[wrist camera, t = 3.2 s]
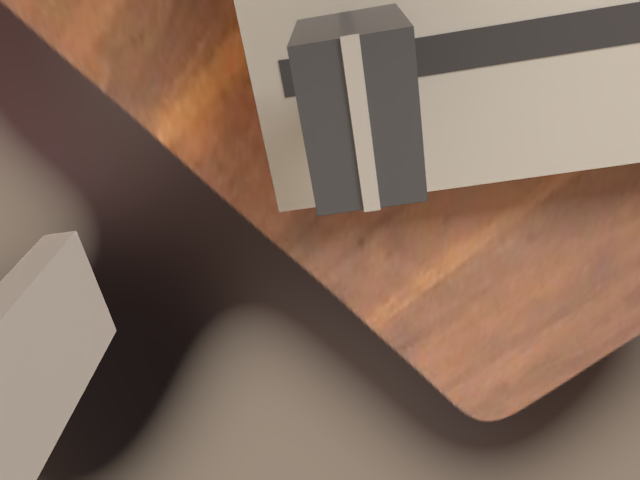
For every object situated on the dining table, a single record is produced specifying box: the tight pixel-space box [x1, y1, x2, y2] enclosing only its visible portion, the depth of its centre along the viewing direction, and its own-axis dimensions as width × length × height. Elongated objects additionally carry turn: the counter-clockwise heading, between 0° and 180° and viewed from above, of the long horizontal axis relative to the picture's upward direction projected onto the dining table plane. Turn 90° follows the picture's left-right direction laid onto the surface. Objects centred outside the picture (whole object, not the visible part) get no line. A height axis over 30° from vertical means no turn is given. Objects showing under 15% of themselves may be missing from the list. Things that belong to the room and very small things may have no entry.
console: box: [234, 0, 640, 212], centre depth 29 cm, size 14×26×3 cm, turn 99°
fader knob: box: [287, 3, 428, 216], centre depth 24 cm, size 6×4×9 cm, turn 9°
